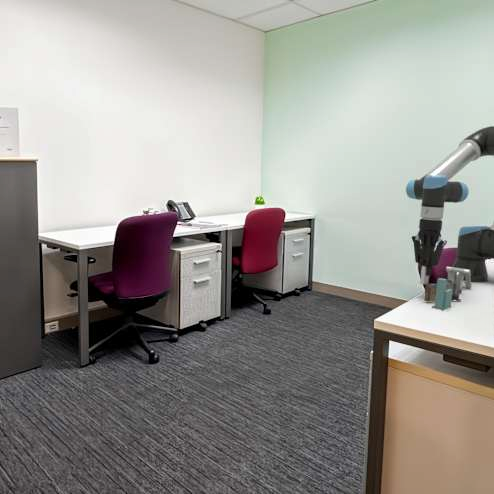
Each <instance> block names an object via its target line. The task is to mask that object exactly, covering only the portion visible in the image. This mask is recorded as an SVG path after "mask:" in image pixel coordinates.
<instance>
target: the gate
mask: <svg viewBox="0 0 494 494" xmlns="http://www.w3.org/2000/svg"><path fill="white" fill-rule="evenodd" d="M453 286H454V284H453V283H447V285H446V290H448V289H452V290H453ZM424 289H425V290H424V291H425V292H424V301H425V302H435V299H436V289H437V283H429V282H428V283H426V284H425V288H424Z"/></svg>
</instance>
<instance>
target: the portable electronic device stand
mask: <svg viewBox="0 0 494 494" xmlns="http://www.w3.org/2000/svg"><path fill="white" fill-rule="evenodd" d="M445 271H446V273H447V280H451V281H452V282H453V280H454V271H459V272H462V274H461V283H460V288H461V289H463V288H466V289H470V288H471V289H472V286H473V283H472V281H471V273H470V270H468V269H461V268H454V267H453V266H446V268H445ZM464 275H465V281H464V280H463V279H464Z"/></svg>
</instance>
